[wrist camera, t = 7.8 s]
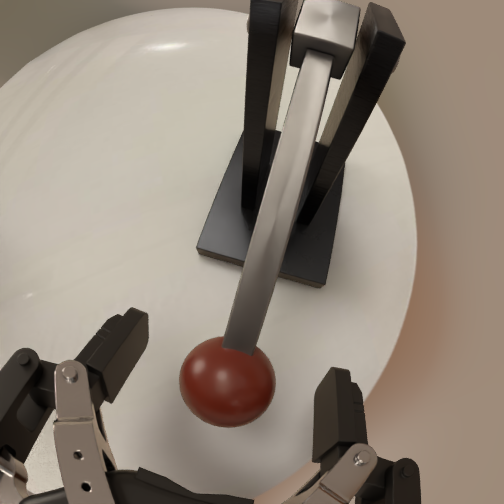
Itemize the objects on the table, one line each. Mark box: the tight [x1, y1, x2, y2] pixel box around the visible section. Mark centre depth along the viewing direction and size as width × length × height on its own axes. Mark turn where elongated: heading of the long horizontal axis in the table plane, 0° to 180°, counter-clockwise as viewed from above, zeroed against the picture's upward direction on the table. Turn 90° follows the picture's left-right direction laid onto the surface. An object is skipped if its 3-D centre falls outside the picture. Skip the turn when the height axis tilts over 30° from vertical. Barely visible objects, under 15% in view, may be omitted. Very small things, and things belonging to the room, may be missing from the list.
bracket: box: [196, 0, 406, 288], centre depth 14 cm, size 12×9×16 cm
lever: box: [179, 0, 360, 428], centre depth 9 cm, size 17×4×4 cm, turn 164°
